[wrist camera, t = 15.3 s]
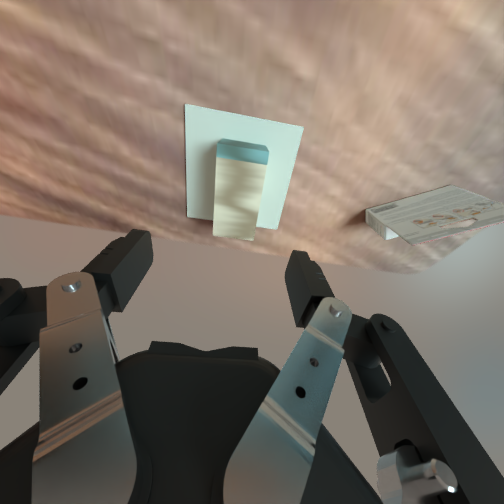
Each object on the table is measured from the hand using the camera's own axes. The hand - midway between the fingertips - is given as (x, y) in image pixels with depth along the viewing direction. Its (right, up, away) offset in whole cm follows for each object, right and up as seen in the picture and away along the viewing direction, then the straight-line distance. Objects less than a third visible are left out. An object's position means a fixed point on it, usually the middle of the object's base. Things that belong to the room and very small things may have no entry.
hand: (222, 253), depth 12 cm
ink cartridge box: (+23, +7, +17) cm, 29 cm away
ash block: (-1, +3, +15) cm, 15 cm away
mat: (0, +10, +14) cm, 17 cm away
